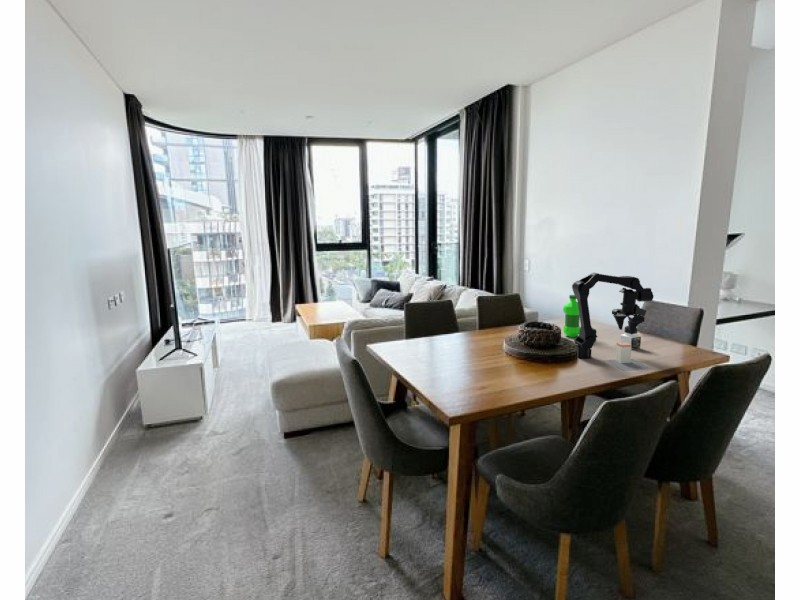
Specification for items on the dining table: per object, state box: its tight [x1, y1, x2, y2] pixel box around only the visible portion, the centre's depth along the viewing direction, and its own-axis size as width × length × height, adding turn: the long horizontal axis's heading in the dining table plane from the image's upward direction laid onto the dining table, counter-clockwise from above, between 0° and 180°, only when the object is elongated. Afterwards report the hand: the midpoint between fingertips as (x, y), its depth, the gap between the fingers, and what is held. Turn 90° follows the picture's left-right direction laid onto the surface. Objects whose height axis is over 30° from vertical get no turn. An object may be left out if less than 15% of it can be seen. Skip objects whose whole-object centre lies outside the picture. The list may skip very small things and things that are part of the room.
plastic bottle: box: [562, 294, 581, 338], centre depth 247 cm, size 10×10×25 cm
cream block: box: [615, 342, 632, 363], centre depth 199 cm, size 5×4×9 cm
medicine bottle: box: [619, 325, 642, 350], centre depth 221 cm, size 7×7×12 cm
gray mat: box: [605, 358, 653, 371], centre depth 196 cm, size 14×15×1 cm
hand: (626, 331), depth 207 cm, fingers open, 9 cm apart
